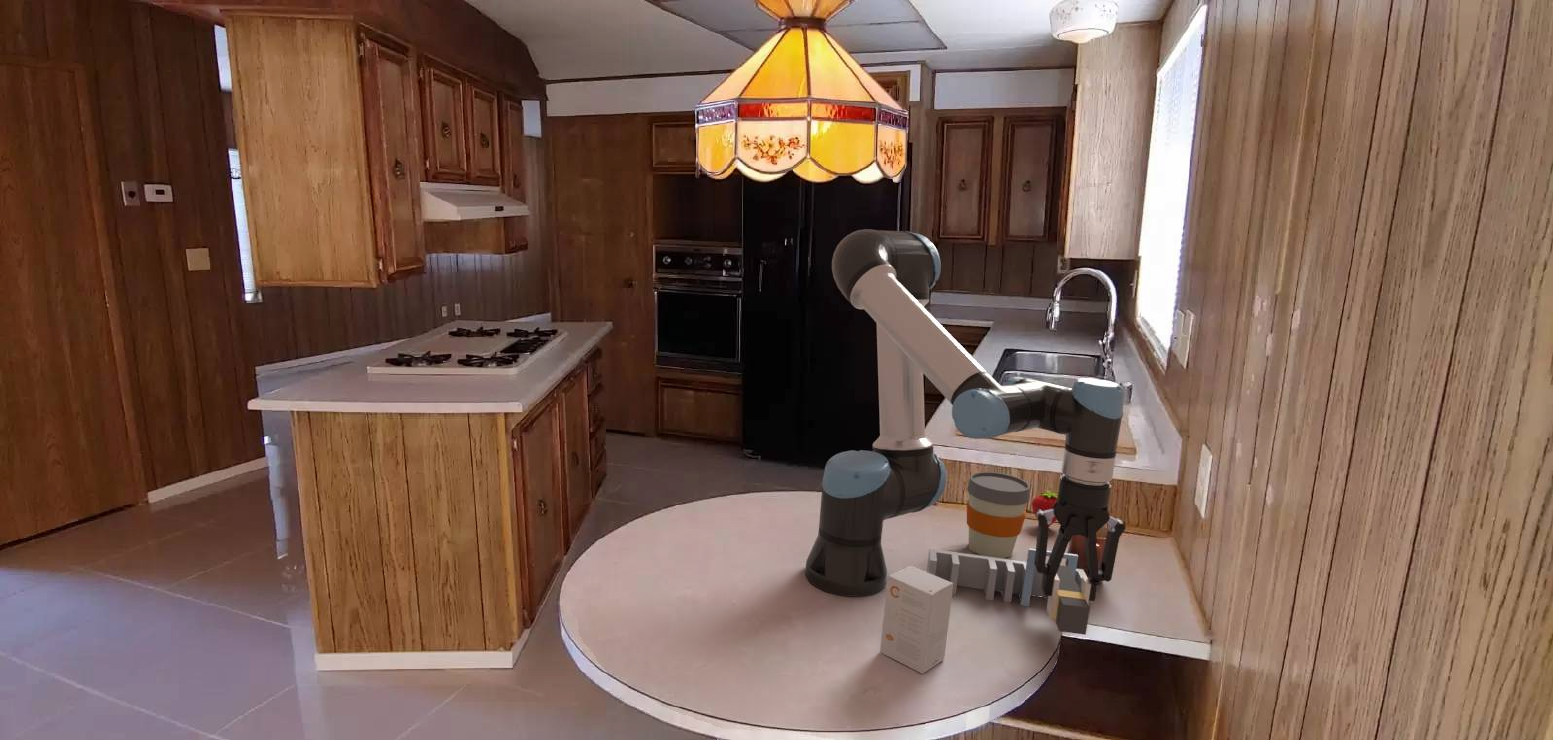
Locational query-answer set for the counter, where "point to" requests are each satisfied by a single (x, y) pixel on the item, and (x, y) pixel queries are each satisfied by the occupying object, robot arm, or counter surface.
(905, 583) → the small box
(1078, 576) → the grey slotted rack
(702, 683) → the counter surface
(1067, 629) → the grey banded bar
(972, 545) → the reusable coffee cup
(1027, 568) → the blue bezel
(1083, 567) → the mug
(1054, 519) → the strawberry
